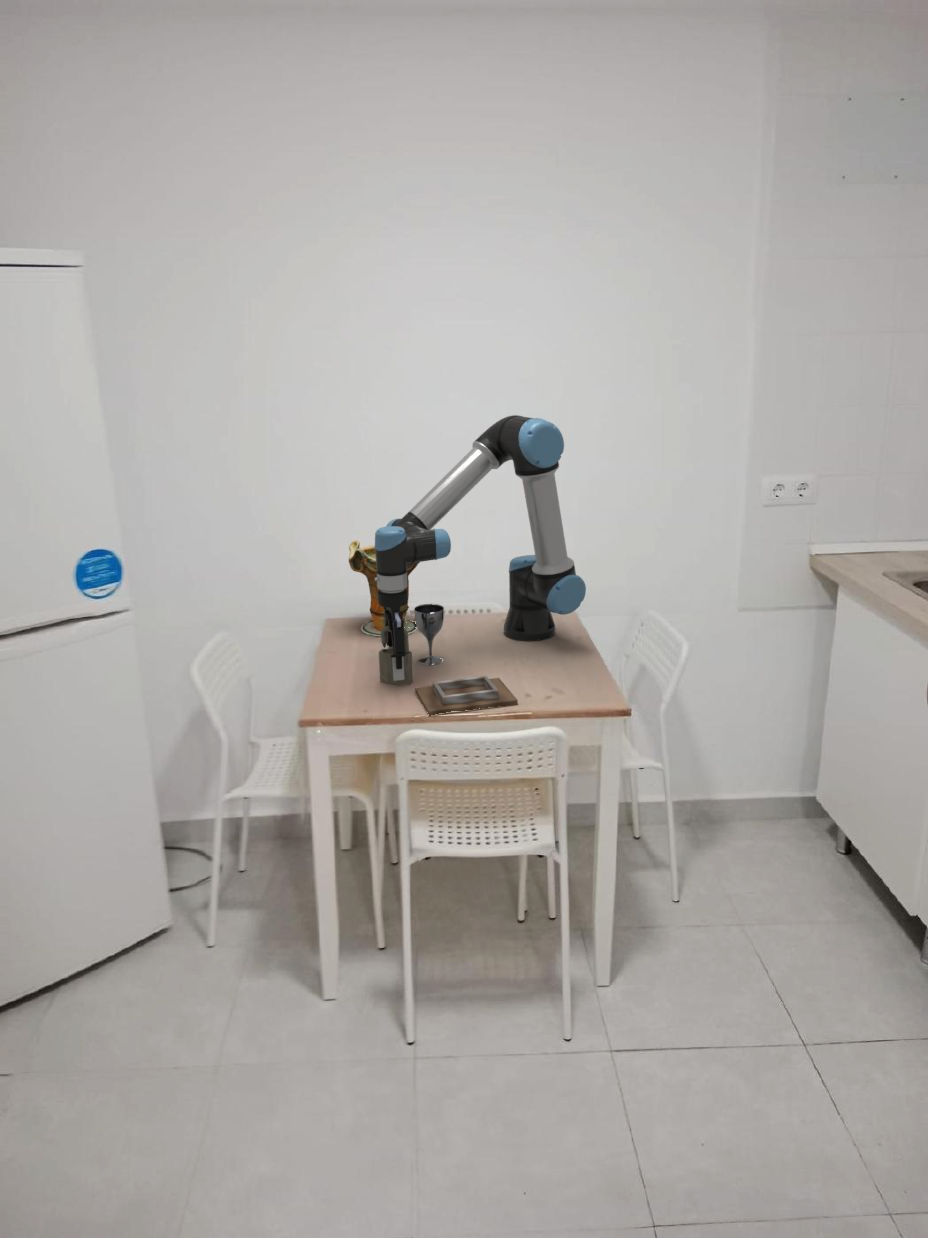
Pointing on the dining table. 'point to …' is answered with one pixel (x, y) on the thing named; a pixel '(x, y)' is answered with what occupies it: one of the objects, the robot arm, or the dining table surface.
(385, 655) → the padlock
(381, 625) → the decorative vase
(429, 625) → the wine glass
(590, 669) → the dining table surface
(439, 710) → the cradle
